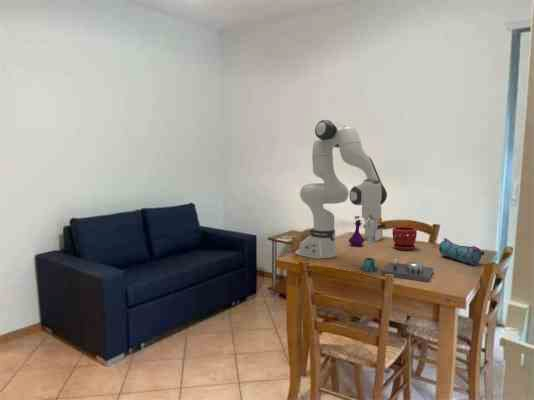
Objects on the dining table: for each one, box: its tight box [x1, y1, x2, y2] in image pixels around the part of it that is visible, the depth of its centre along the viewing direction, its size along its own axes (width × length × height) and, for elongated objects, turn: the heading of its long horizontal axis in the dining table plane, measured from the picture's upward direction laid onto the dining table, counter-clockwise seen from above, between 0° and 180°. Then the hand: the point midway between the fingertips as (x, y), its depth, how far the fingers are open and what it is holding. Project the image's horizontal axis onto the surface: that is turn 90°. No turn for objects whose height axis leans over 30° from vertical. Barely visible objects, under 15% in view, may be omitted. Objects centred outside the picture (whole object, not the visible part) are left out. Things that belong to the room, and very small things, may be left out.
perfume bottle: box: [348, 215, 365, 247], centre depth 234 cm, size 8×8×18 cm
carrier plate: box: [380, 258, 434, 283], centre depth 181 cm, size 20×16×6 cm
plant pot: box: [392, 226, 418, 251], centre depth 227 cm, size 13×13×12 cm
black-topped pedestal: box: [363, 222, 386, 242], centre depth 251 cm, size 28×26×13 cm
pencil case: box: [438, 237, 485, 266], centre depth 202 cm, size 21×9×10 cm, turn 25°
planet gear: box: [360, 257, 379, 273], centre depth 187 cm, size 8×8×5 cm
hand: (370, 243), depth 186 cm, fingers open, 8 cm apart
